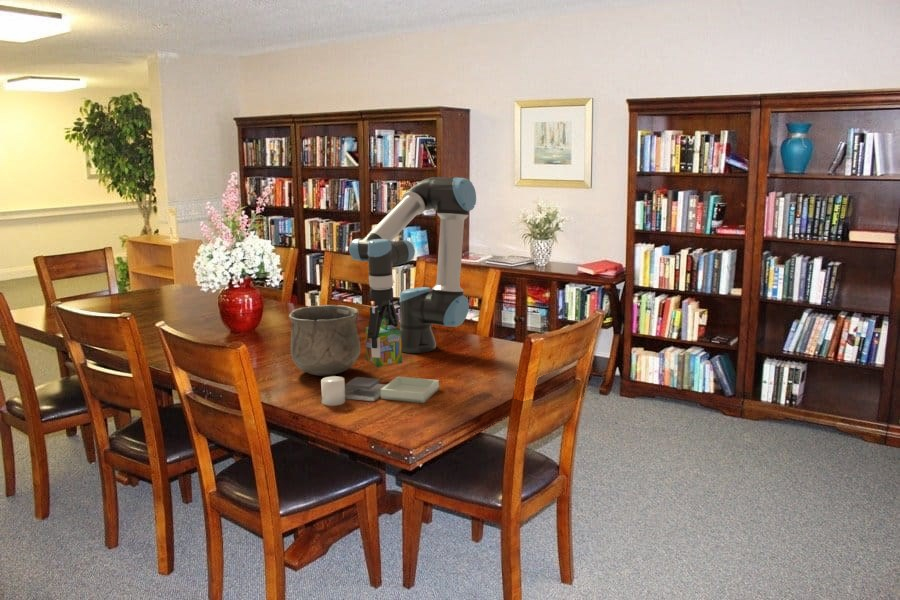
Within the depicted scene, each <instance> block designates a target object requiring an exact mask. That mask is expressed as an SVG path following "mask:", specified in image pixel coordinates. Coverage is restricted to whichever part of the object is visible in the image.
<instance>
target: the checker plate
mask: <svg viewBox="0 0 900 600" xmlns="http://www.w3.org/2000/svg"><path fill="white" fill-rule="evenodd" d="M380 381H381V380H380V378H373V377H362V376H361V377H360V376H355V377H354V378H352V379H351V380H349V381H348V382H347V383H345V386H346V387H348V388H358V389H367V390H370V389H371V388H372V387H374V386H375V385H376V384H380Z"/></svg>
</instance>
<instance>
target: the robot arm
mask: <svg viewBox="0 0 900 600" xmlns="http://www.w3.org/2000/svg"><path fill="white" fill-rule="evenodd" d="M476 203H477V192H476V187H475V186H474V185H473V183H472V182H471V180H470V179H469V178H465V177H456V176H455V177H448V176H447V177H445V176H444V177H442V176H441V177H437V176H432V177H427V178H425V179H422V180H420V181H419V182H417V183H416V184H414V185H412V186H411V187H410V188H409V189H408V190H407V191H406V192H404V193H403V195H402V196H401V200H400V201H399V203H397V204H396V206H395V207H393V208H392V209H391V210H390V211H389V212H388V213H387V215H385V216H384V217H383V218H382V219H381V221H379V222H378V224H376V226H374V227H373V228H372V229H371V231H369V232H368V233H367V235H365V236H364V237H363V238H361V237H359V238H355V239H352V241H351V242H350V245H349V251H348V252H349V255H350V257H351V258H352V259H353V260H354V261H359V262H362V263H363V262H366V263H367V262H368V279H367V280H369V282H368V283H369V287H370V289H369V299H370V300H371V301H373V302H374V306H370V307H369V319H368V320H369V321H368V326H367V327H368V334H367V337H368V338H371V352H372V357H376V358H380V338H378V336H379V331H380V327H381V322H382V319H384V318H387V319H389V323H388V324H391V325H393V326H395V327H397V328H398V325H399V324H400V328H399V329H400V330H401V348H402V353H408V354H421V353H428V352H432V351H434V350H436V348H437V343H436V339H435V336H434V333H433V330H432V325H438V326H445V327H455V328H456V327H459V326H461V325H462V324H463V323H464V322H465V320H466V319H467V315H468V313H469V308H470V303H469V302H470V301H469V299H468V297H467V296H465V295H464V289H463V288H462V287H461V285H460V284H461V274H462V273H461V271H462V258H463V257H462V256H463V241H464V230H465V229H464V227H465V226H464V225H465V220H466V219H467V218H468V217H469V215H470V214H469V213H470V212H471V211H473V210H474V208H475V205H476ZM427 210H436V215H437V216H438V217H439V219H440V224H439V237H438V241H439V242H438V255H437V270H436V284H435V285H434V286H433V287H432V288H431V287H428V286H421V287H412V288H407V289H403V290H402V291H401V292H400V293H399V314H400V315H399V320H400V321H398V317H397V313H396V309H395V305H394V304H395V303H394V288H393V286H394V281H393V280H394V279H393V278H394V277H393V267H395V266H399V265H402V264H406V263H409V262H411V261H412V260H413V259H414V257H415V254H416V253H415V252H416V251H415V247H414V245H413V243H412V242H411V241H410V240H406V239H404V240H401V239H400V240H397V241H394V239H395V238H396V237H397V236H398V235H399V234H400V233H401V232H402V231H403V230H404V229H405V227H407V226H408V225H409V224H410V223H411V221H412V220H414V218H415V217H417V216H419V215H422V214H423V213H424V212H425V211H427ZM398 322H399V324H398Z"/></svg>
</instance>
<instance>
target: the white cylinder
mask: <svg viewBox="0 0 900 600" xmlns="http://www.w3.org/2000/svg"><path fill="white" fill-rule="evenodd" d="M320 386H321V389H320V391H321V404H322V405H324V406H328V407H331V406H332V407H333V406H340V405H343V404H345V403H346V398H345V386H346V383H345V377H343V376H336V375H330V376H324V377H323V378H322V379H320Z"/></svg>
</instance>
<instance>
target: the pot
mask: <svg viewBox="0 0 900 600" xmlns="http://www.w3.org/2000/svg"><path fill="white" fill-rule="evenodd" d="M358 315H360V311H359V309H357V308H356V307H352V306H348V305H340V304H338V305H336V304H321V305H311V306H306V307H299V308H296V309H293V310H292V311H291V312H290V313H289V315H288V318H289V319H290V320H291V321H290V322H291V324H290V327H291V332H290V356H291V359H292V361H293V363H294V365H295V366H296V367H297V368H298V369H300V370H301V371H303V372H304V373H308V374H309V375H314V376H320V377H329V376H335V375H337V374H341V373H343V372H345V371H348V370H349V369H350V368H351V367H352V366H353V365H354V364H355V362H356V361H357V360H358V359H359V356H360V354H361V342H360V338H359V335H358V331H357V322H356V319H357V316H358Z"/></svg>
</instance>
